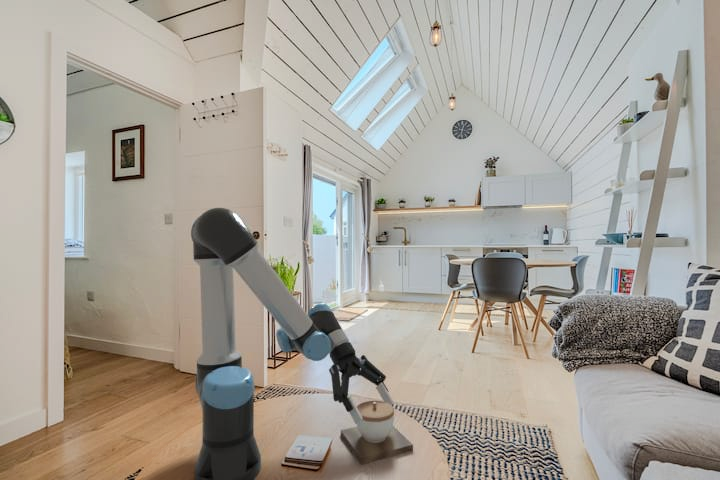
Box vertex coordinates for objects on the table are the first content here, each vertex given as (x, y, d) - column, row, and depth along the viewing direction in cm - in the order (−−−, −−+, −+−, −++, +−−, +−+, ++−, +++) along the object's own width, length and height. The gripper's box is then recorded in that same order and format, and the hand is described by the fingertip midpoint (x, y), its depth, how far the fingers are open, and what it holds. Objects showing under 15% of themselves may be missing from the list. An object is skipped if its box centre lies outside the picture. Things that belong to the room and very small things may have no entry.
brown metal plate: (361, 464, 86) (361, 458, 86) (340, 435, 100) (340, 430, 100) (413, 450, 92) (412, 444, 92) (386, 424, 106) (386, 419, 106)
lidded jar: (396, 447, 91) (395, 411, 91) (355, 448, 91) (354, 411, 91) (392, 427, 101) (392, 394, 102) (356, 427, 102) (355, 394, 102)
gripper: (360, 347, 118) (395, 405, 108) (301, 364, 100) (336, 436, 89) (372, 334, 115) (409, 392, 104) (313, 349, 97) (351, 422, 86)
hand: (376, 412), depth 97 cm, fingers open, 13 cm apart
